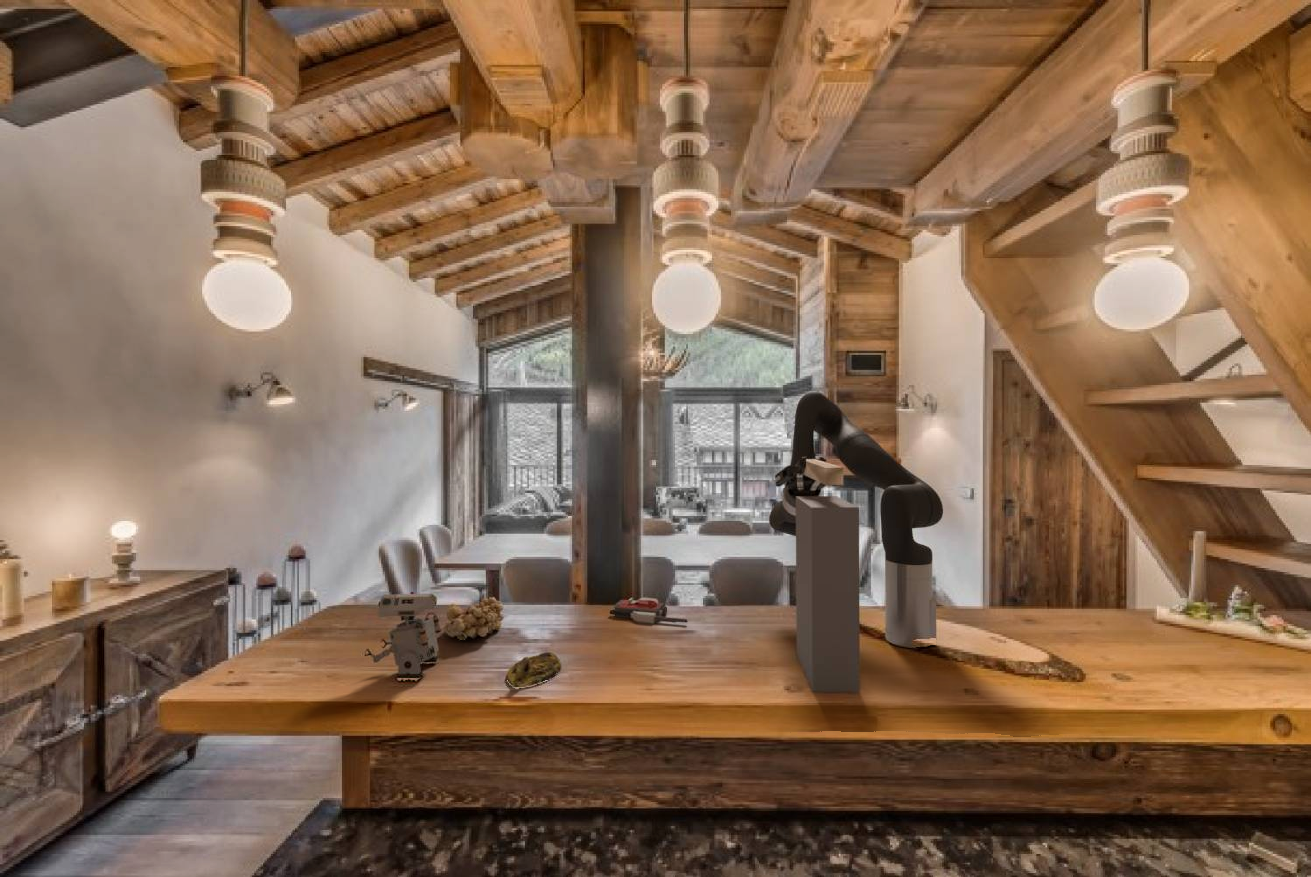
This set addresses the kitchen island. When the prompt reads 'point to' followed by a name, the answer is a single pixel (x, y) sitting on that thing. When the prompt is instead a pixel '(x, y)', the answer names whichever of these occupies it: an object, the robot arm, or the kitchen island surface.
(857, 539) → the charcoal plinth
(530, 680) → the olive green oval lump
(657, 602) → the red black elongated piece
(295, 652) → the kitchen island surface
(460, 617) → the mineral formation
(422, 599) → the figurine
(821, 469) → the wooden bar
